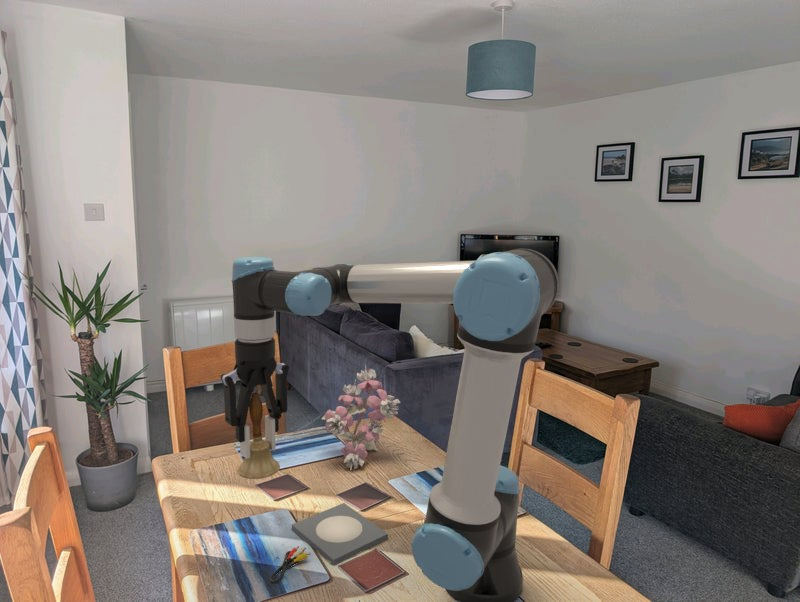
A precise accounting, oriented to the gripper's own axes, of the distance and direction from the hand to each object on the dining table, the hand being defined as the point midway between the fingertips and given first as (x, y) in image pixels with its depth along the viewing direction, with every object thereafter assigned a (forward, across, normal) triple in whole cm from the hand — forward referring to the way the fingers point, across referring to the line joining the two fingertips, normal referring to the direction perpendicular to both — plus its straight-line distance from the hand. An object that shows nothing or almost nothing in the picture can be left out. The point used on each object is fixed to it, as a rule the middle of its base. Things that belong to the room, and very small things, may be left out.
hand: (258, 451), depth 113 cm
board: (+22, -16, +6) cm, 27 cm away
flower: (+22, -41, -20) cm, 50 cm away
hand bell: (+4, 0, 0) cm, 4 cm away
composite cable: (+22, -1, +8) cm, 24 cm away
